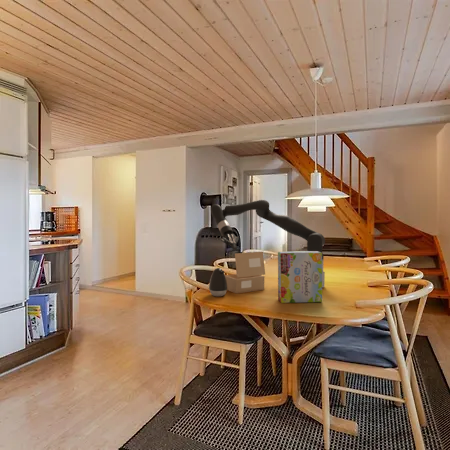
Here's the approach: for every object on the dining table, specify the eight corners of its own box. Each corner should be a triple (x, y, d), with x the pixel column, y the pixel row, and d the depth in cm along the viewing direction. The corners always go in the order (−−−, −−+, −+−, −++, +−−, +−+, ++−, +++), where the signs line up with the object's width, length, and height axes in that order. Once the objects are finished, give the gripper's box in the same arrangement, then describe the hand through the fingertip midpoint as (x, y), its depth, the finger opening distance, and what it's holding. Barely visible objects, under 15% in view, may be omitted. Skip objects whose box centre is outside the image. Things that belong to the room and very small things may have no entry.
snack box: (317, 298, 177) (318, 250, 177) (322, 303, 169) (323, 252, 168) (277, 298, 177) (277, 250, 176) (280, 303, 168) (280, 252, 167)
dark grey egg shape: (216, 298, 176) (216, 270, 176) (205, 294, 185) (205, 267, 184) (231, 296, 182) (231, 268, 182) (220, 292, 191) (220, 266, 190)
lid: (264, 274, 198) (265, 274, 197) (236, 277, 188) (237, 277, 187) (262, 251, 199) (263, 251, 199) (234, 253, 189) (235, 253, 189)
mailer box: (264, 289, 198) (264, 276, 198) (236, 293, 188) (236, 279, 188) (250, 285, 211) (251, 272, 210) (223, 288, 200) (223, 275, 200)
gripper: (218, 225, 211) (228, 245, 201) (235, 224, 218) (246, 244, 208) (214, 233, 216) (224, 253, 206) (231, 232, 223) (241, 252, 213)
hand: (235, 249), depth 207 cm, fingers closed
